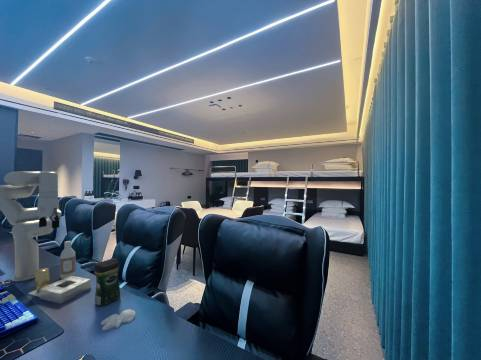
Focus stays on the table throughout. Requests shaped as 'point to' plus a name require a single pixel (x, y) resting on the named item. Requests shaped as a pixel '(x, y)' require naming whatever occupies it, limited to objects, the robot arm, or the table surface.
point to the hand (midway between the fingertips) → (49, 227)
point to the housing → (64, 289)
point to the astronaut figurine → (118, 319)
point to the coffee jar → (107, 282)
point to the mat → (34, 293)
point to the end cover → (42, 278)
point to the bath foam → (67, 261)
